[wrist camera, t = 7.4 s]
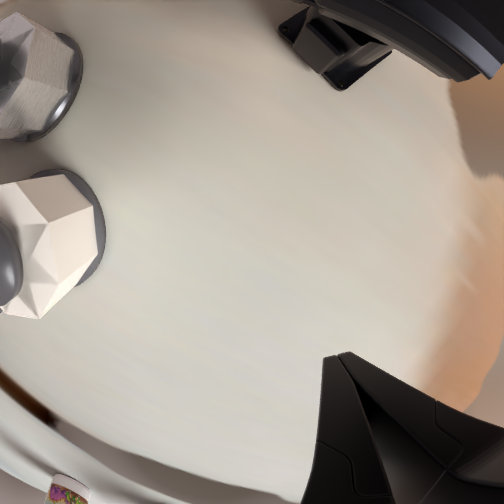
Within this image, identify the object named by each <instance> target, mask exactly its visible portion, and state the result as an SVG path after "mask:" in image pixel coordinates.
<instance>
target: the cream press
mask: <svg viewBox="0 0 504 504" xmlns="http://www.w3.org/2000/svg"><path fill="white" fill-rule="evenodd" d="M0 221H1V222H3V223H4V224H5V225H6V226H7V228H8V229H9V230H10V232H11V233H12V235H13V236H14V238H15V240H16V242H17V245H18V247H19V250H20V253H21V257H22V262H23V271H24V277H23V284H22V288H21V290H20V292H19V294H18V295H17V296H16V297H14V298H13V299H12V300H11V301H9V302H8V303H7V304H6V305H4V306H0V313H1V312H2V311H4V312H5V314H10V315H16V316H22V317H28V318H34V319H40V318H41V317H42V316H43V315H44V314H45V313H46V312H47V311H48V310H49V309H50V308H51V307H52V306H53V305H54V304H55V303H57V302H58V301H59V300H60V299H61V298H62V297H63V296H64V295H65V294H66V293H67V292H68V291H69V290H71V289H72V288H73V287H75V286H78V285H80V284H81V283H83V282H84V281H85V280H86V279H87V278H89V277H90V276H91V275H92V274H93V272H94V271H95V270H96V269H97V267H98V265H99V263H100V261H101V259H102V256H103V253H104V248H105V242H106V227H105V220H104V216H103V212H102V209H101V206H100V203H99V201H98V199H97V197H96V195H95V194H94V192H93V191H92V189H91V188H90V187H89V185H88V184H87V183H86V182H85V181H84V180H83V179H82V178H80V177H79V176H77V175H76V174H74V173H72V172H70V171H66V170H61V169H53V170H45V171H41V172H39V173H37V174H35V175H33V176H32V177H30V178H29V179H28V180H23V181H17V182H12V183H7V184H3V185H0Z"/></svg>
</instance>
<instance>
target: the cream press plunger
mask: <svg viewBox="0 0 504 504" xmlns="http://www.w3.org/2000/svg"><path fill="white" fill-rule="evenodd" d="M23 277H24V271H23V262H22V257H21V253H20V250H19V247H18V245H17V242H16V240H15V238H14V236H13V235H12V233H11V232H10V230H9V229H8V228H7V226H6V225H5V224H4V223H3V222H1V221H0V306H4V305H6V304H7V303H8V302H9V301H11V300H12V299H13V298H14V297H16V296H17V295H18V294H19V292H20V290H21V288H22V284H23Z"/></svg>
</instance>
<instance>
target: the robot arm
mask: <svg viewBox="0 0 504 504" xmlns="http://www.w3.org/2000/svg"><path fill="white" fill-rule="evenodd" d="M291 1H294V2H297V3H300V4H301V3H304V4H307V5H310V6H309V7H307V8H306V9H304V10H303V11H301V12H299V13H298V14H296V15H294V16H293V17H291V18H290V19H288V20H287V21H285V22H284V23H282V24H281V25H280V26H279V27H278V30H277V31H278V33H279V35H280V36H282V37H283V38H284V39H285V40H286V41H287V42H288V43H289V44H291V45H292V46H293V50H294V51H295V52H296V53H297V54H298V55H299V56H300V57H301V58H302V59H303V60H304V61H305V62H306V63H307V64H308V65H309V66H310V67H311V68H312V69H313V70H314V71H315V72H316V73H318V74H322V75H323V76H324V77H325V78H326V80H327V81H328V82H329V83H330V84H331V85H332V86H333V87H334V88H335V89H336V90H338V91H344V90H346V89H347V88H348V87H349V86H351V85H352V84H353V83H354V82H356V81H357V80H358V79H359V78H360V77H362V76H363V75H364V74H365V73H367V72H368V71H369V70H370V69H372V68H373V67H374V66H376V65H377V64H378V63H379V62H381V61H382V60H383V59H384V58H386V57H387V56H388V55H390V54H391V53H392V50H393V49H396V50H398V51H400V52H401V53H403V54H405V55H406V56H408V57H410V58H411V59H413V60H415V61H416V62H418V63H419V64H421V65H422V66H424V67H426V68H427V69H429V70H430V71H431V72H433V73H434V74H436V75H437V76H439V77H443V78H448V79H453V80H454V81H456V82H461V81H465V80H469V79H471V78H473V77H475V76H477V75H479V74H481V73H482V74H483V75H484V76H485V77H486V78H487V79H489V80H490V79H492V77H493V76H494V75H495V73H496V72H497V70H498V69H499V68H500V67H501V65H502V64H503V63H504V0H291ZM283 28H284V29H287V30H288V32H284V31H283V30H282V29H283ZM338 82H341V83H342V84H343V87H341V86H339V84H338ZM300 504H504V428H503V427H500V426H497V425H494V424H491V423H488V422H485V421H482V420H480V419H477V418H474V417H472V416H469V415H467V414H464V413H462V412H460V411H458V410H456V409H454V408H451V407H449V406H447V405H445V404H444V403H442V402H440V401H438V400H436V401H435V399H434V398H432V397H430V396H428V395H427V394H425V393H423V392H421V391H419V390H417V389H416V388H414V387H412V386H410V385H408V384H406V383H405V382H403V381H401V380H399V379H397V378H396V377H394V376H392V375H390V374H389V373H387V372H385V371H383V370H382V369H380V368H378V367H376V366H375V365H373V364H371V363H369V362H368V361H366V360H364V359H362V358H361V357H359V356H357V355H355V354H354V353H352V352H345V353H341V354H338V355H337V356H336V355H333V356H328V357H325V358H323V366H322V382H321V395H320V407H319V418H318V428H317V437H316V444H315V452H314V459H313V464H312V469H311V473H310V477H309V480H308V483H307V487H306V489H305V492H304V495H303V498H302V500H301V503H300Z"/></svg>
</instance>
